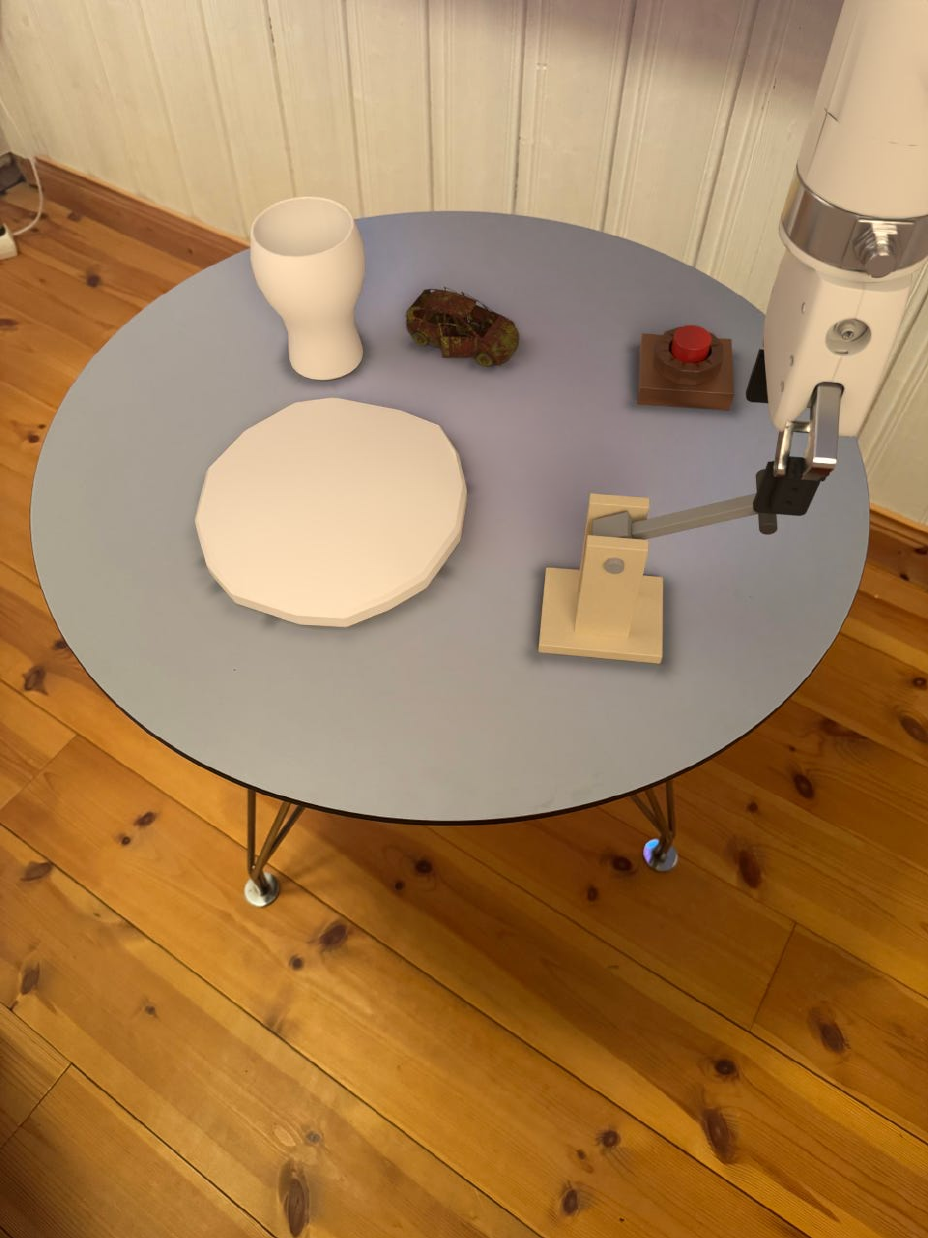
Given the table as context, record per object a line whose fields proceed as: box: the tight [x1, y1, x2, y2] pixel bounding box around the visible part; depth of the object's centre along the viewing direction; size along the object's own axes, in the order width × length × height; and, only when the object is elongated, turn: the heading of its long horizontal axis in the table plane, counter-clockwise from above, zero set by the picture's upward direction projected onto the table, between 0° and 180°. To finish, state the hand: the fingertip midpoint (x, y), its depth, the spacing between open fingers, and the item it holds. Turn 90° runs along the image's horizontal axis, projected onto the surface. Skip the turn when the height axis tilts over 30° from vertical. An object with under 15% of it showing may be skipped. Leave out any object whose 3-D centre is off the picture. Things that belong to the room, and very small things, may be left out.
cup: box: [250, 195, 367, 381], centre depth 91 cm, size 11×11×15 cm
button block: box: [637, 325, 735, 411], centre depth 92 cm, size 9×8×4 cm
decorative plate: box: [194, 397, 468, 628], centre depth 83 cm, size 25×4×25 cm
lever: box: [592, 468, 779, 540], centre depth 66 cm, size 13×5×2 cm, turn 83°
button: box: [671, 324, 711, 363], centre depth 90 cm, size 4×4×2 cm
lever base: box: [537, 492, 664, 665], centre depth 72 cm, size 10×8×13 cm
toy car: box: [405, 286, 520, 368], centre depth 95 cm, size 12×7×5 cm, turn 63°
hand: (773, 452), depth 60 cm, fingers open, 9 cm apart
